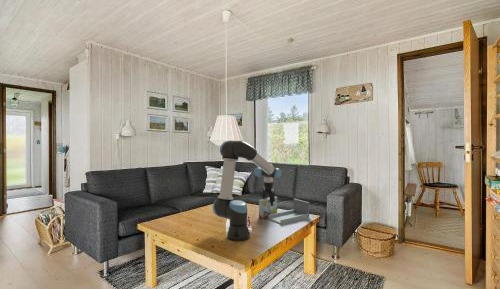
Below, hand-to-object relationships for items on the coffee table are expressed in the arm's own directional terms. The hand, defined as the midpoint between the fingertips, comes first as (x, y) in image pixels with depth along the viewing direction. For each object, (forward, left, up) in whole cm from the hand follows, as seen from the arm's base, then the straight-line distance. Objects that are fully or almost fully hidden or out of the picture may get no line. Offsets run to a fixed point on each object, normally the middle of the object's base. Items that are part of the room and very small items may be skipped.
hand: (268, 208), depth 218 cm
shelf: (+9, -15, -6) cm, 19 cm away
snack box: (0, 0, -6) cm, 6 cm away
